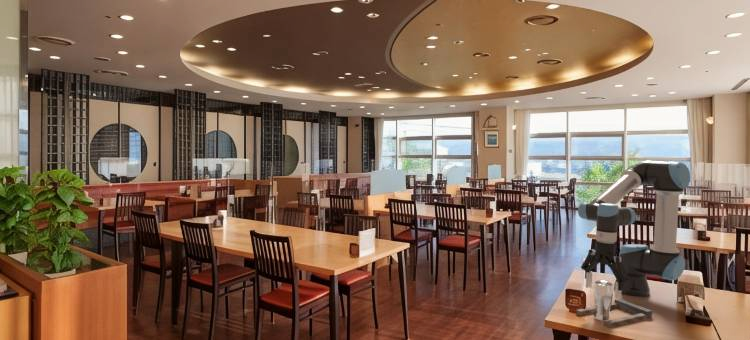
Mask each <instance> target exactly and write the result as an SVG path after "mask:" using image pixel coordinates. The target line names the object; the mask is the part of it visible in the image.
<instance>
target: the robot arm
mask: <svg viewBox="0 0 750 340" xmlns="http://www.w3.org/2000/svg"><path fill="white" fill-rule="evenodd" d="M690 182H691V173H690V169H689V167H688V166H687V165H686V164H685V163H683V162H681V161H672V160H671V161H667V160H665V161H664V160H644V161H641V162H638V163H635V164H634V165H633V164H632V165H631V166H630V167H628V168H626V169H625V170H623V171H622V173H621V174H620V177H619V178H618V179H616V180H615V181H614V182H613V183H612V184H610V186H608V187H607V188H606V189H604V191H602V192H601V193H600V194H599V195H597V196H596V197H595V198H594V199H593V200H591V202H588V201H587V202H582V203H580V204H579V205H578V209H577V214H578V216H579V217H580V218H581V219H583V220H587V221H594V222H596V233H595V240H596V241H595V242H594V243H595V246H594V248H592V249H588V252H587V256H586V257H585V260H584V261H583V262H582V265H581V266H580V268H581V270H584V279H585V288H586V289H588V288H592V287H593V271H592V270H593V269H594V268H595V267H596V266H598V264H603V265H605V266H607V267H609V268H610V270H611V272H612V273H613V275H614V277H615V279H616V280H615V281H614V284H613V290H614V299H621V298H622V294H625V295H628V296H634V297H647V296H649V295H650V294H651V291H650V286H649V283H648V279H647V275H648V276H652V277H656V278H661V279H663V280H669V281H676V280H677V279H679V278H680V277H681V276H682V274H683V273H684V270H685V267H686V260H685V258H684V257H683V256H682V255H680V254H681V253H680V250H679V249H678V248H677V238H678V237H677V234H678V221H679V220H678V218H679V217H678V216H679V202H680V200H679V199H680V195H681V194H682V193H684V189H687V188H688V187H689V186H690ZM640 186H652V190H653V192H654V193H655V195H656V197H655V200H656V201H655V216H654V234H653V235H654V236H653V244H652V245H651V246H649V245H646V244H639V243H637V244H635V243H633V244H632V243H631V244H623V245H621V247H620V251H619V256H616V254H615V253H616V251H617V237H618V227H622V226H625V227H626V226H630V225H632V224H634V223H635V222H636V220H637V214H636V212H635V210H634V209H633V208H631V207H627V206H623V207H622V206H621V207H620V206H618V205H617V204H618V203H619V202H620V201H621V200H622V199H624V198H625V197H626V196H627V195H628V194H629V193H630V192H631V191H632V190H634V189H635V190H636V189H637V188H639V187H640ZM594 257H595V258H594Z"/></svg>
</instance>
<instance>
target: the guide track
mask: <svg viewBox="0 0 750 340" xmlns="http://www.w3.org/2000/svg"><path fill="white" fill-rule="evenodd" d="M614 309H621V310H624V311H626V312H629V313H632V315H627V316H621V317H618V318H614V319H610V320H609V321H603V327H605V328H606V329H607V328H608V329H609V328H615V327H618V326H623V325H627V324H631V322H632V323H635V322H640V321H644V320H648V319H651V318H653V310H652V309H648V308H645V307H643V306H640V305H638V304H634V303H632V302H629V301H627V300H624V299H621V298H617V299H616V298H614V301H612V302H611V306H610V310H614ZM594 313H595V305H594V306H590V307H589V306H588V307H585V309H583V308H578V309H576V313H575V314H576V315H578V316H585V315H590V314H594ZM626 323H627V324H626ZM622 324H623V325H622Z"/></svg>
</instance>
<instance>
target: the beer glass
mask: <svg viewBox="0 0 750 340" xmlns="http://www.w3.org/2000/svg"><path fill="white" fill-rule="evenodd" d="M613 295H614V284H613V283H612V282H610V281H606V280H595V281H594V287H593V300H594V306H595V313H593V318H594V319H595V320H597V321H600V322H601V321H602V322H604V321H609V320H611V315H610V311H611V309H610V306H611V303H613Z"/></svg>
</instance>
